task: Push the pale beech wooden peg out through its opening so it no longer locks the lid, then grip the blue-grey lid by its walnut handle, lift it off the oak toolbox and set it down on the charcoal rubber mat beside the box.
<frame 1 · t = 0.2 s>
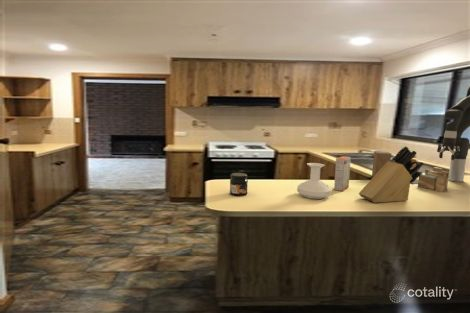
hand: (446, 159, 229), 17 cm above the table, tool pointing down, fingers open, 8 cm apart
cracker box: (341, 189, 203), on the table
lid: (433, 176, 212), point 8 cm above the table, touching toolbox
white vase: (313, 196, 183), on the table
mat: (412, 181, 231), on the table
supplement container: (238, 194, 183), on the table
knife block: (389, 199, 181), on the table
wooden block: (379, 177, 241), on the table
wooden peg: (435, 173, 207), point 11 cm above the table, slide at 0.0 cm
toolbox: (432, 187, 213), on the table
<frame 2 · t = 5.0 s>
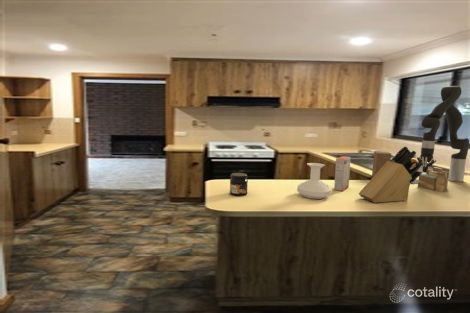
hand: (424, 172, 214), 10 cm above the table, tool pointing down, fingers closed
wooden peg: (436, 173, 206), point 11 cm above the table, slide at 0.8 cm, touching gripper
everything else where it was.
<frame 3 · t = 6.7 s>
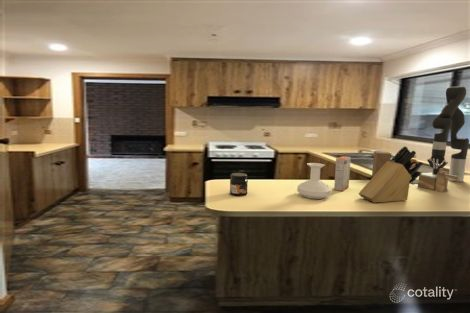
hand: (435, 174, 207), 10 cm above the table, tool pointing down, fingers closed
wooden peg: (448, 175, 199), point 11 cm above the table, slide at 8.5 cm, touching gripper
everything else where it was.
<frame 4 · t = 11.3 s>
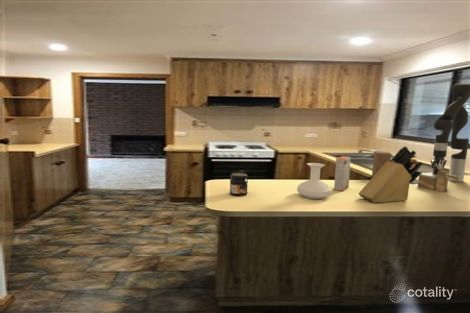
hand: (437, 174, 213), 9 cm above the table, tool pointing down, fingers closed on lid, 2 cm apart
lid: (433, 176, 212), point 8 cm above the table, touching gripper, toolbox
wooden peg: (448, 175, 199), point 11 cm above the table, slide at 8.6 cm
everything else where it was.
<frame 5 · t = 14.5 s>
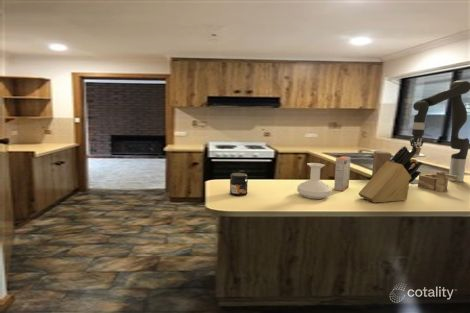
hand: (415, 152, 228), 22 cm above the table, tool pointing down, fingers closed on lid, 2 cm apart
lid: (411, 154, 227), point 20 cm above the table, tilted 11°, touching gripper
wooden peg: (447, 175, 200), point 11 cm above the table, slide at 8.0 cm
everything else where it was.
when the fingers open (4 cm above the table, at t = 17.9 s): lid stays where it is, resting on mat.
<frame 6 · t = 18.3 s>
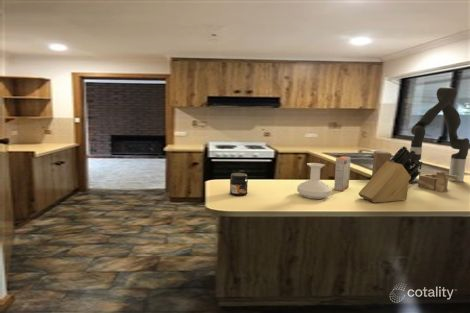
hand: (413, 175, 230), 5 cm above the table, tool pointing down, fingers open, 6 cm apart
lid: (408, 179, 230), point 1 cm above the table, touching mat
everything else where it was.
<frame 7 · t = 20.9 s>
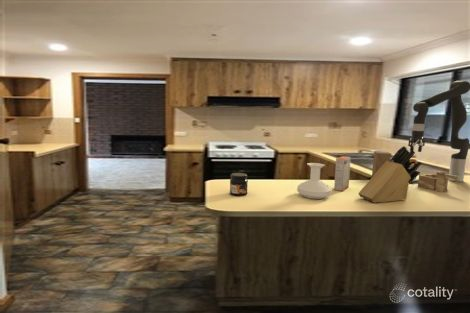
hand: (415, 152, 228), 22 cm above the table, tool pointing down, fingers open, 8 cm apart
nothing on the table moved.
at the end: wooden peg slide at 8.0 cm; lid inside the target area (3.6 cm from its centre), point 1.4 cm above the table; lid tilted 2° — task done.
